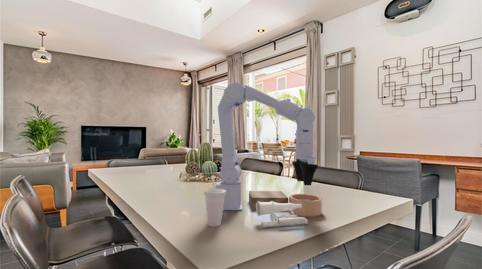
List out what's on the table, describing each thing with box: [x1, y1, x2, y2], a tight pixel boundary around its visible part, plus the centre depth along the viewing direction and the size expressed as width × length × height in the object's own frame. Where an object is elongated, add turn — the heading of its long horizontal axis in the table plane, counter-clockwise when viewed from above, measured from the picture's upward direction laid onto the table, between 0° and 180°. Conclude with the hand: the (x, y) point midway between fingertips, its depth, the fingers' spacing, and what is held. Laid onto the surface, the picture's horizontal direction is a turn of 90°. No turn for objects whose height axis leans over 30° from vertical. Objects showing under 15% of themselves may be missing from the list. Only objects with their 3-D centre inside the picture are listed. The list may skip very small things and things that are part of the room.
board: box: [248, 190, 289, 210], centre depth 92 cm, size 13×11×4 cm
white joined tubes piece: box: [255, 201, 309, 229], centre depth 72 cm, size 8×14×5 cm
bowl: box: [288, 193, 323, 218], centre depth 84 cm, size 11×11×5 cm
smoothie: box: [203, 175, 226, 228], centre depth 70 cm, size 6×6×14 cm
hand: (303, 183), depth 84 cm, fingers open, 7 cm apart
